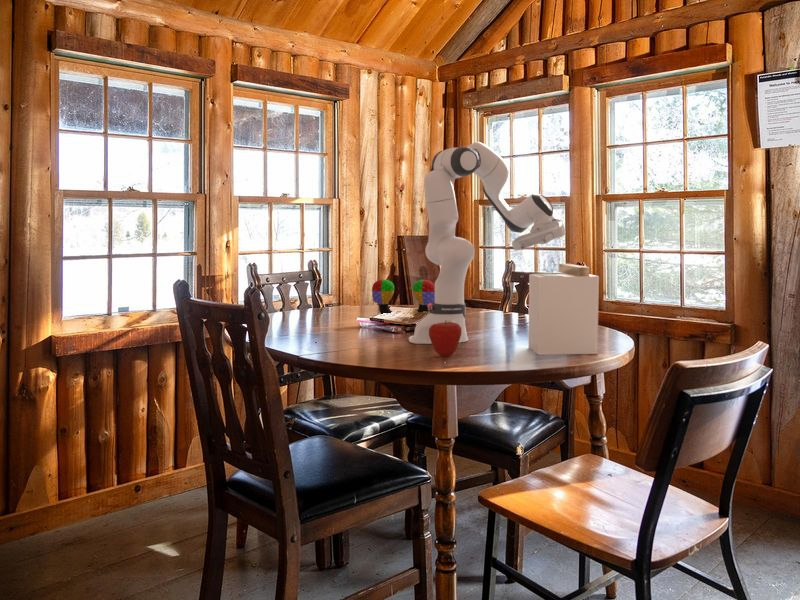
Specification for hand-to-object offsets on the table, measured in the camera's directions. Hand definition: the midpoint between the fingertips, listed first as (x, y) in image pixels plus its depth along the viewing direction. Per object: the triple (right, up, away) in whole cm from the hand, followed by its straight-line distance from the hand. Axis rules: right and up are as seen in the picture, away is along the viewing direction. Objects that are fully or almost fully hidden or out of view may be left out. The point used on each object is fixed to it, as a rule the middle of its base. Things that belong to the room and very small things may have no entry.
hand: (533, 244), depth 253 cm
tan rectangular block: (+11, -12, -14) cm, 21 cm away
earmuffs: (-48, -32, +51) cm, 76 cm away
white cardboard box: (+7, -38, -17) cm, 42 cm away
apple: (-34, -39, -25) cm, 58 cm away
